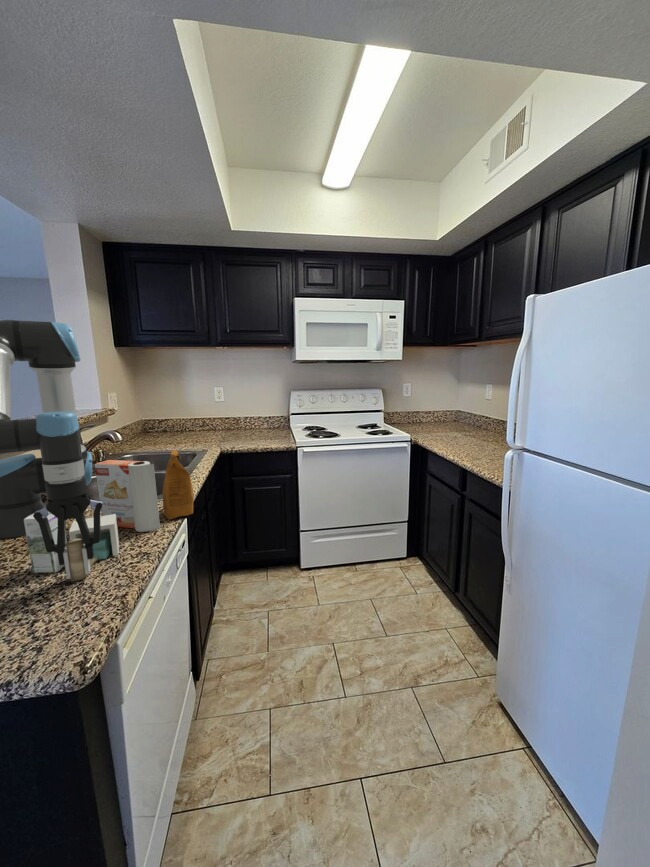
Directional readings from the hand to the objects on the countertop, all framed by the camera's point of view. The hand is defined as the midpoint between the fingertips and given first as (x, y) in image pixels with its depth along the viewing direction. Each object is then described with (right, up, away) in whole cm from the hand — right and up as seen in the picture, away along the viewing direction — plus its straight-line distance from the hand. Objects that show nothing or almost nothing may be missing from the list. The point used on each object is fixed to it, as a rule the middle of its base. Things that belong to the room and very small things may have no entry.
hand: (78, 573), depth 86 cm
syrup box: (-10, -1, +5) cm, 11 cm away
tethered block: (-1, 0, +6) cm, 6 cm away
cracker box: (-5, +4, +31) cm, 32 cm away
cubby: (-3, +1, +12) cm, 12 cm away
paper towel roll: (+3, +3, +27) cm, 28 cm away
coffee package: (+8, +5, +40) cm, 41 cm away
